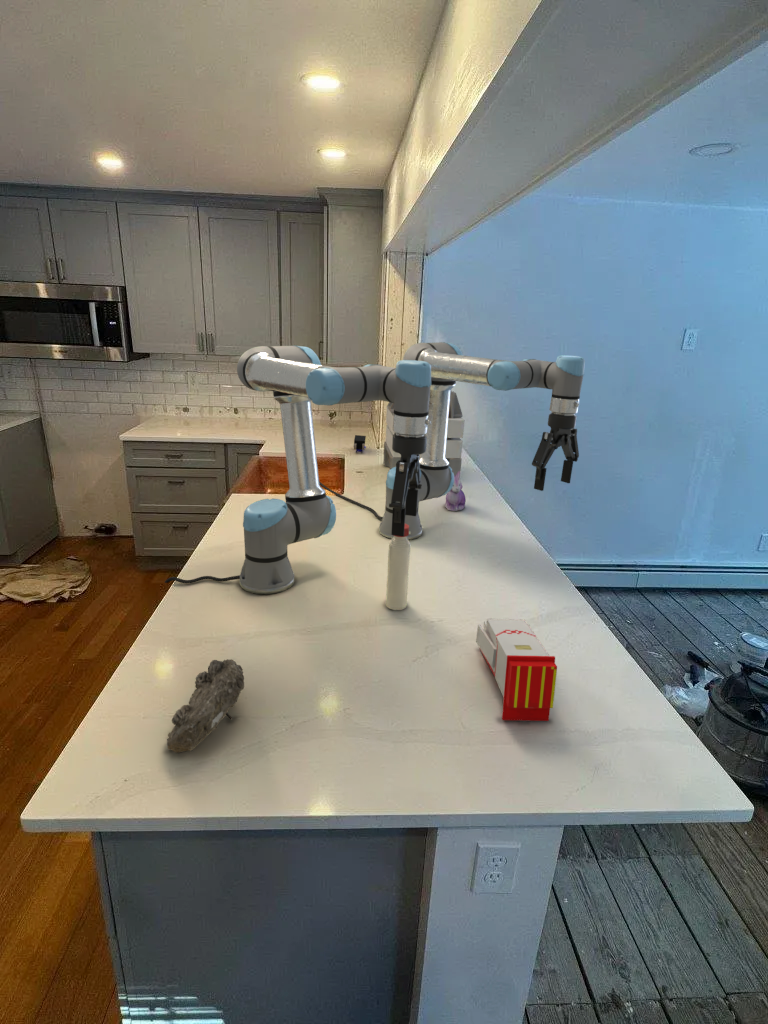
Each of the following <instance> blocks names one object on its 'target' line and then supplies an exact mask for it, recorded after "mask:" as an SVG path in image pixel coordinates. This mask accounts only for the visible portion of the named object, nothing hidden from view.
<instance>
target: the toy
mask: <svg viewBox="0 0 768 1024" xmlns="http://www.w3.org/2000/svg"><path fill="white" fill-rule="evenodd" d="M476 629H477V631H476V638H475V642H476V645H477V646H478V648H479V650H480V652H481V654H482V656H483V658H484V660H485V661H486V664H487V666H488V668H489V669H490V671H491V672H492V675H493V676H494V679H495V681H496V685H497V686H498V688H499V690H500V692H501V695H502V697H503V701H502V712H501V720H502V721H521V722H523V721H526V722H528V721H529V722H550V712H551V709H554V702H555V692H556V681H557V673H558V665H557V664H556V656H555V655H550V654H549V652H548V651H547V650H546V648H545V647H544V645H543V644H542V642H541V641H540V639H539V638H538V637H537V635H536V634H535V632H534V631H533V629H532V627H531V625H530V624H528V623H527V621H526V619H521V618H518V619H515V618H513V619H512V618H486V620H484V621H483V626H482V625H481V624H477V628H476Z"/></svg>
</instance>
